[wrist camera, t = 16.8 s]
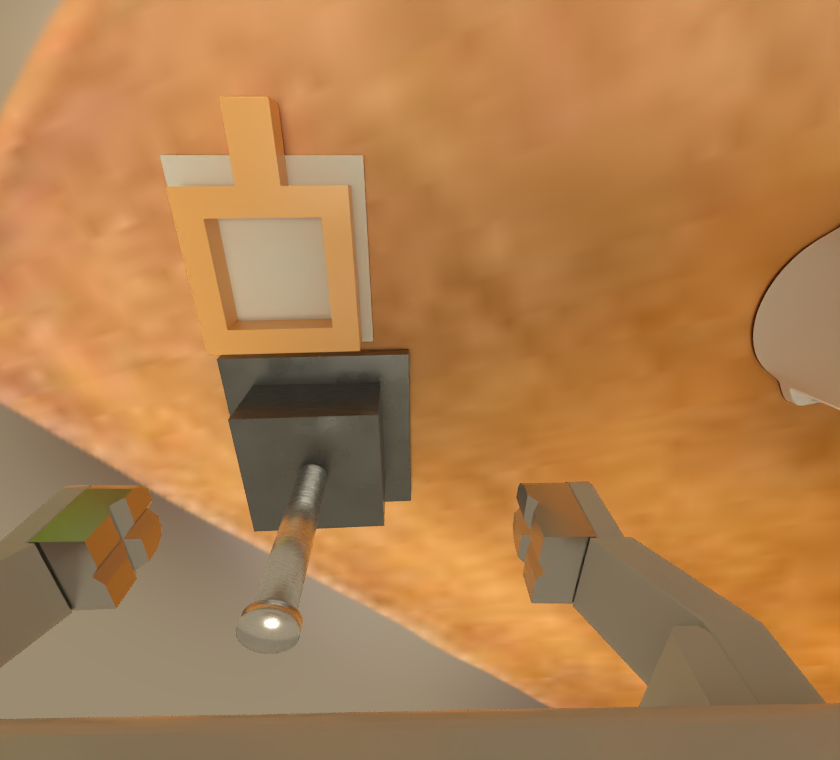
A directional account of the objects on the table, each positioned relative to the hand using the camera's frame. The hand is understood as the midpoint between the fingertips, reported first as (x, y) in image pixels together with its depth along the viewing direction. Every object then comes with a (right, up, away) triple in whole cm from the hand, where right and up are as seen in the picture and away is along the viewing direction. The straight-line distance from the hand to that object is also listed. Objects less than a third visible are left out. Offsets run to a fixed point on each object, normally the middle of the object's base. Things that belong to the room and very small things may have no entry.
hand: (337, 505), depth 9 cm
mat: (-9, +13, +23) cm, 28 cm away
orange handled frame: (-9, +14, +22) cm, 27 cm away
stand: (-7, -2, +30) cm, 31 cm away
